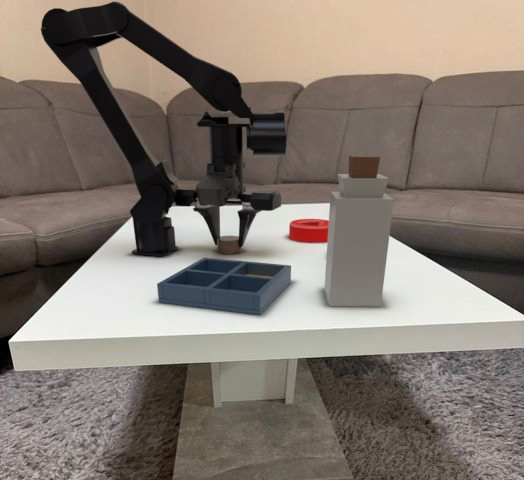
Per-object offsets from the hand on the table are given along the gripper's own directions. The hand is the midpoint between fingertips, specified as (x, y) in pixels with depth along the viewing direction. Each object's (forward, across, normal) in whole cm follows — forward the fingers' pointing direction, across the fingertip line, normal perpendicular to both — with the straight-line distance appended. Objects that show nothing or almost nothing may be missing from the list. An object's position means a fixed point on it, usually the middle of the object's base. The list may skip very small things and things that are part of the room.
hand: (229, 246), depth 86 cm
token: (+1, 0, 0) cm, 1 cm away
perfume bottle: (+1, +26, -19) cm, 32 cm away
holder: (+1, +9, -22) cm, 24 cm away
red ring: (+1, +12, +17) cm, 21 cm away
